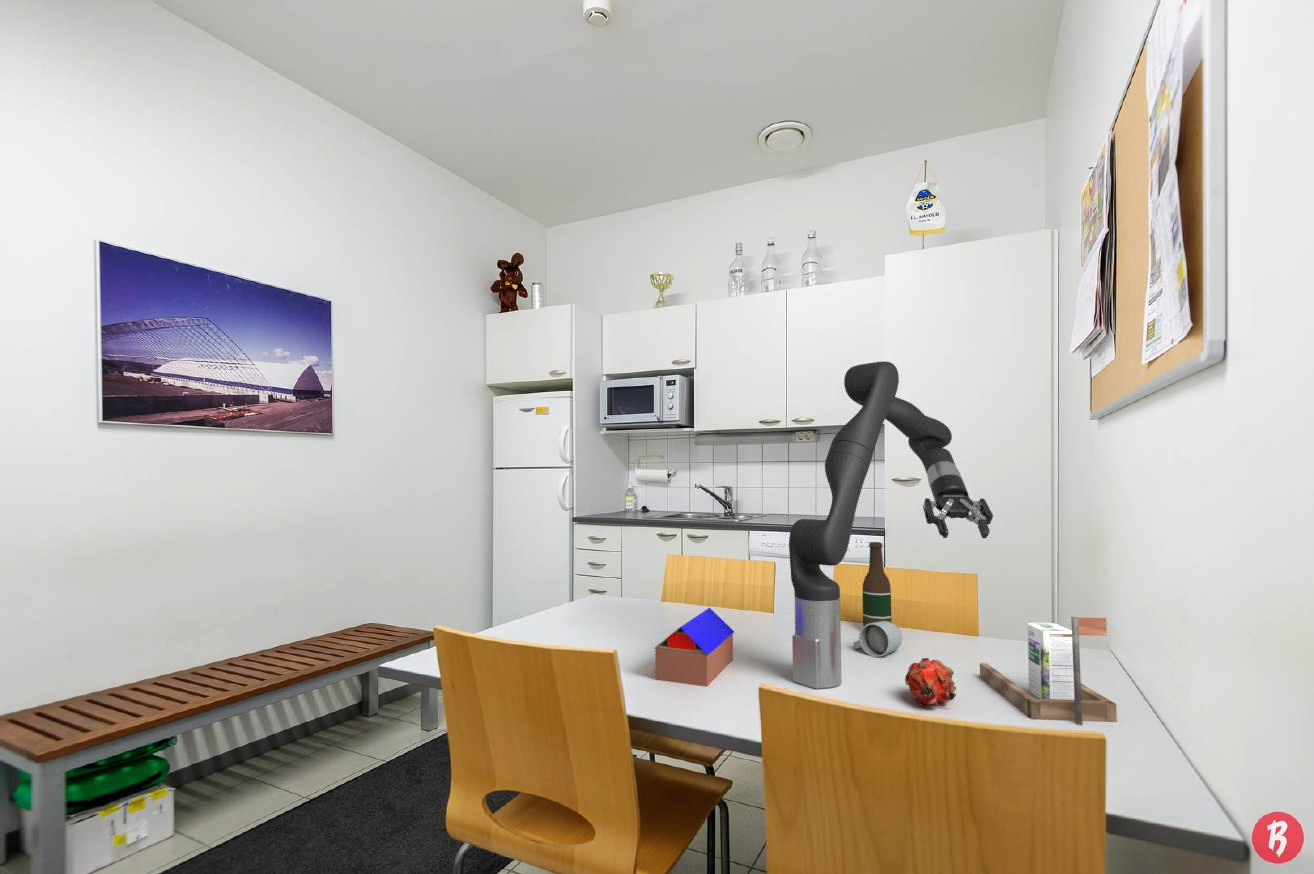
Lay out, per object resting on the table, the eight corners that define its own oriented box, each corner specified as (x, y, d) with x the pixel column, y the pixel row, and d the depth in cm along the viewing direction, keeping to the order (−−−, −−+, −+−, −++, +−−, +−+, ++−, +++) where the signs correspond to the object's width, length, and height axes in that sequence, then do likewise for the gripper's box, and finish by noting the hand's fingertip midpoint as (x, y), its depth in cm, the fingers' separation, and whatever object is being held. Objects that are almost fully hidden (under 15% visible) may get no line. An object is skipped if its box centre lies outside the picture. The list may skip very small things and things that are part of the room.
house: (653, 681, 132) (653, 624, 132) (685, 655, 150) (685, 605, 151) (708, 688, 127) (707, 629, 128) (734, 660, 145) (734, 609, 146)
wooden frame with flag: (980, 677, 132) (977, 591, 133) (1050, 679, 131) (1047, 592, 132) (1037, 723, 108) (1033, 617, 109) (1124, 726, 107) (1119, 618, 108)
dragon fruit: (939, 700, 124) (932, 731, 113) (900, 670, 127) (890, 697, 116) (966, 670, 121) (961, 699, 110) (926, 640, 124) (918, 665, 113)
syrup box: (1027, 699, 120) (1025, 622, 120) (1059, 699, 119) (1056, 622, 120) (1044, 710, 114) (1041, 629, 115) (1078, 711, 114) (1075, 629, 114)
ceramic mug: (905, 652, 150) (903, 620, 151) (889, 660, 145) (888, 626, 145) (863, 645, 158) (862, 614, 158) (847, 651, 152) (846, 619, 153)
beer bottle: (897, 631, 170) (895, 542, 171) (885, 637, 164) (883, 544, 166) (869, 627, 175) (868, 540, 177) (857, 632, 170) (855, 542, 171)
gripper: (919, 473, 153) (936, 525, 141) (980, 473, 151) (1003, 525, 139) (913, 494, 158) (929, 546, 146) (972, 494, 156) (994, 546, 144)
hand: (965, 535), depth 143 cm, fingers open, 8 cm apart
